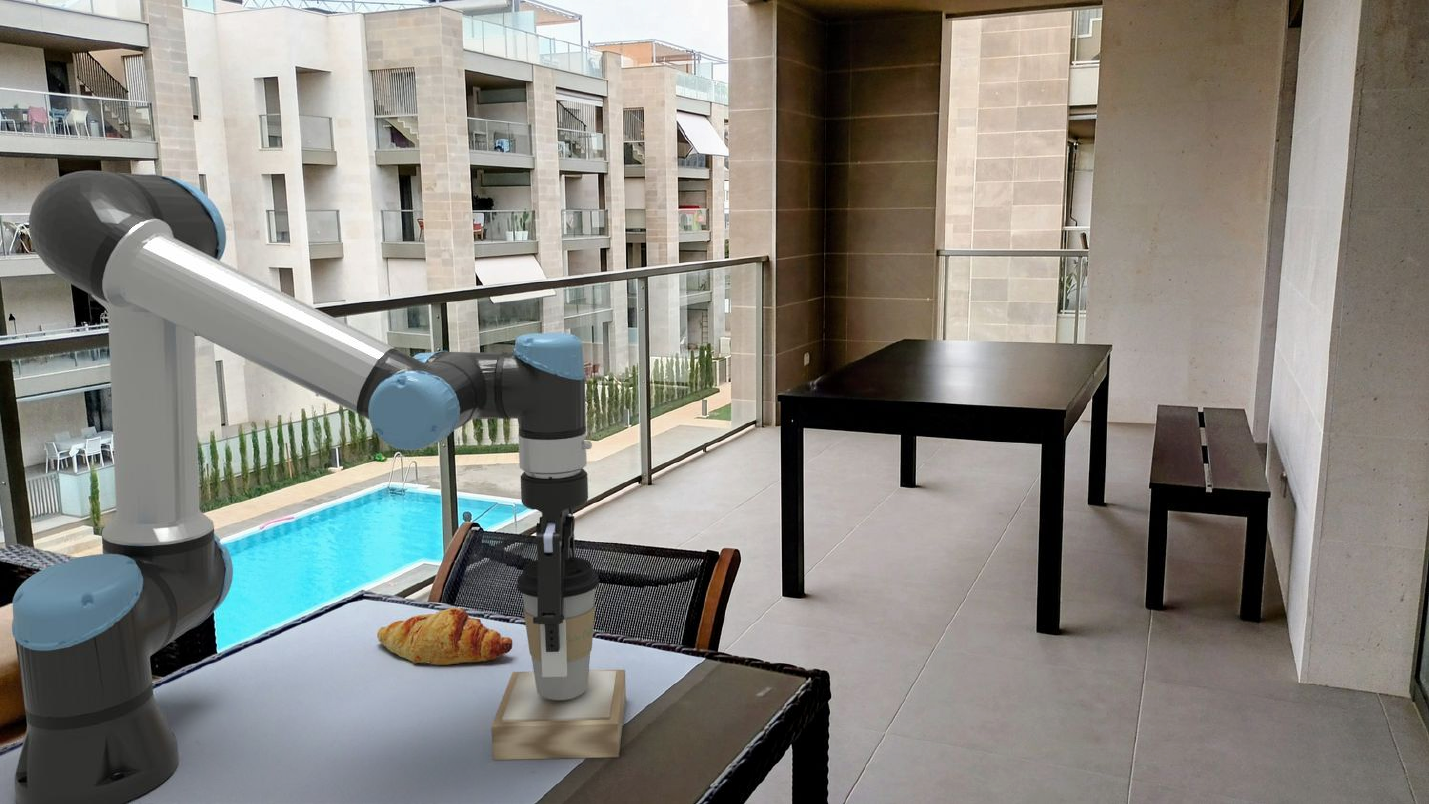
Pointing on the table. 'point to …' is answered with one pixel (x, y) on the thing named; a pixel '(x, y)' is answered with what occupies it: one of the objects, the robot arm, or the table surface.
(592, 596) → the coffee cup
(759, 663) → the table surface
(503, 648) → the croissant
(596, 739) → the plinth
